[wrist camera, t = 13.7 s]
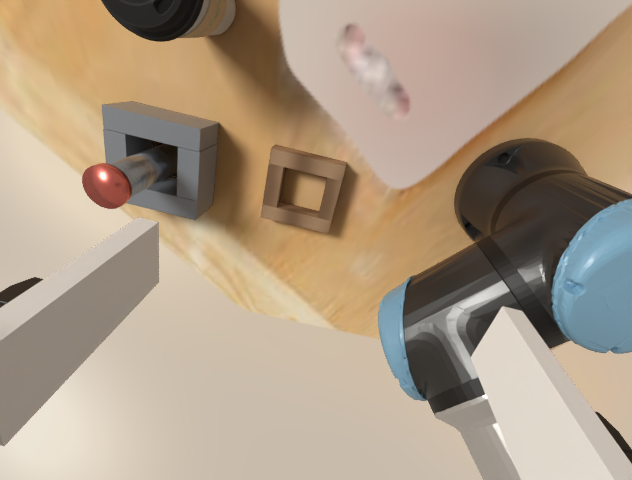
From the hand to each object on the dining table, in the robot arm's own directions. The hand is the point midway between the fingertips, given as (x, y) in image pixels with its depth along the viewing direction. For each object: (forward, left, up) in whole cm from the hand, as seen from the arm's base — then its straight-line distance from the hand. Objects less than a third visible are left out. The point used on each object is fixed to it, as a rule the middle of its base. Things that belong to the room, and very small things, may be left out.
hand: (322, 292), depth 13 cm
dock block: (+23, +8, -35) cm, 42 cm away
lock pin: (+23, +8, -35) cm, 42 cm away
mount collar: (+4, +8, -35) cm, 36 cm away
